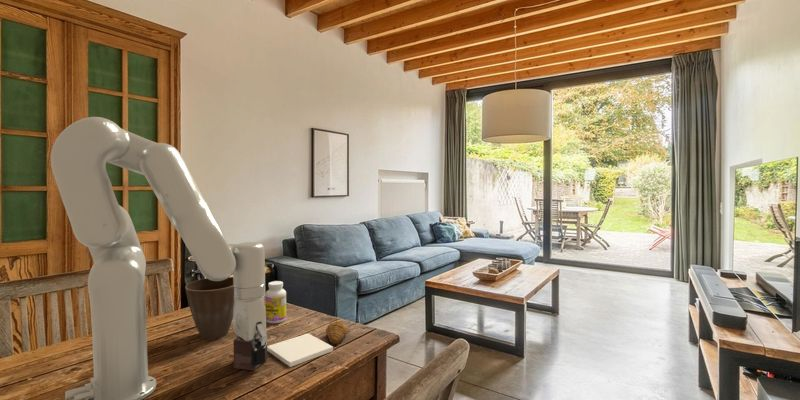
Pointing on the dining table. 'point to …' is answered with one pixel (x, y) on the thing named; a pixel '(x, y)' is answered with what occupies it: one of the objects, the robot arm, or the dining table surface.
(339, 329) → the croissant
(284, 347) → the tile
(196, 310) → the plant pot
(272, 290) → the supplement bottle
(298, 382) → the dining table surface
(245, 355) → the box
